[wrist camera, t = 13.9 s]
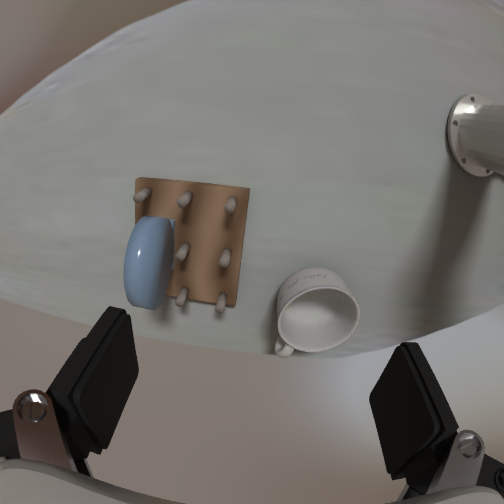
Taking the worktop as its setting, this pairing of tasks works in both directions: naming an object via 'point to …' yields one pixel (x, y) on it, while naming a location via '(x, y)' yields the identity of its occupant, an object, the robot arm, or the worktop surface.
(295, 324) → the teacup
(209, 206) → the dish rack
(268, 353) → the worktop surface
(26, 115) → the worktop surface
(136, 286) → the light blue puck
